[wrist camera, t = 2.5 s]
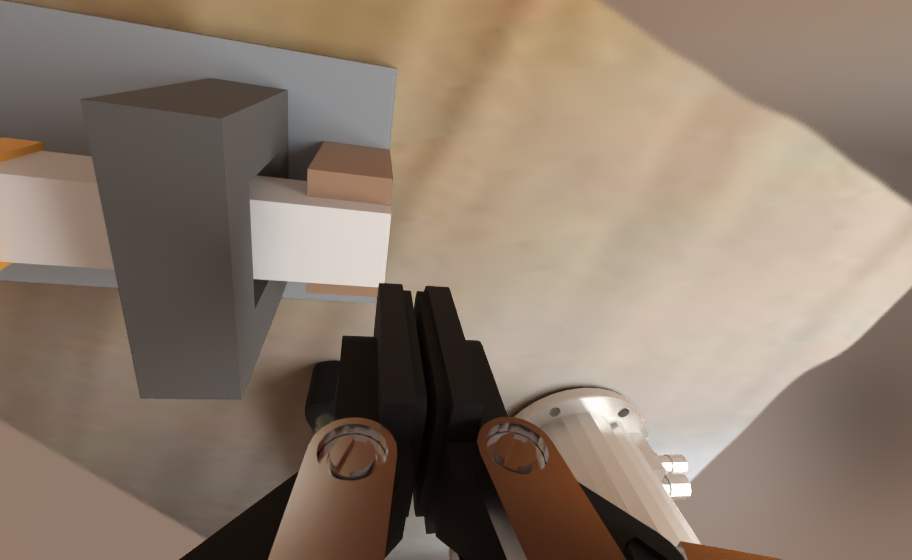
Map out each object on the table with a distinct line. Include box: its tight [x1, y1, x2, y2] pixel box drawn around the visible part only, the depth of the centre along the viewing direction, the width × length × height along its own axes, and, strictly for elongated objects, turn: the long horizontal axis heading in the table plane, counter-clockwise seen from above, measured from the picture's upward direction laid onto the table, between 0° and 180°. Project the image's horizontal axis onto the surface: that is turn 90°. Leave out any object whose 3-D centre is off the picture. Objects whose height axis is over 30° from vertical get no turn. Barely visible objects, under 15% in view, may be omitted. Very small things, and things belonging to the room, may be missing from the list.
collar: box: [80, 78, 289, 400], centre depth 16 cm, size 3×9×9 cm, turn 171°
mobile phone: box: [305, 361, 340, 435], centre depth 29 cm, size 5×3×15 cm
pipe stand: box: [0, 0, 397, 303], centre depth 18 cm, size 20×12×8 cm, turn 81°
